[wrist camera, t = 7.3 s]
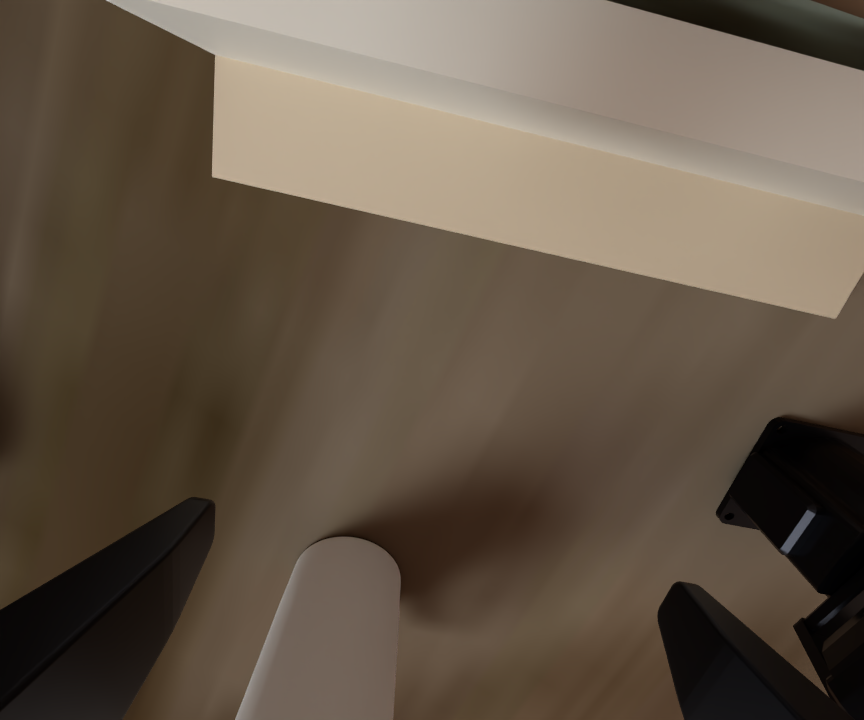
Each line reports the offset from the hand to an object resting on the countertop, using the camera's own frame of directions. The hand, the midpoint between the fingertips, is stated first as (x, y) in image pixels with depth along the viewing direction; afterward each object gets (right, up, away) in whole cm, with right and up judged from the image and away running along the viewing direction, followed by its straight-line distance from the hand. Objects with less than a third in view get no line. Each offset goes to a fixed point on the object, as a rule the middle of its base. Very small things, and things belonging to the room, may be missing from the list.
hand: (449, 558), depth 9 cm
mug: (-5, -10, +19) cm, 22 cm away
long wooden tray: (+5, +11, +9) cm, 15 cm away
